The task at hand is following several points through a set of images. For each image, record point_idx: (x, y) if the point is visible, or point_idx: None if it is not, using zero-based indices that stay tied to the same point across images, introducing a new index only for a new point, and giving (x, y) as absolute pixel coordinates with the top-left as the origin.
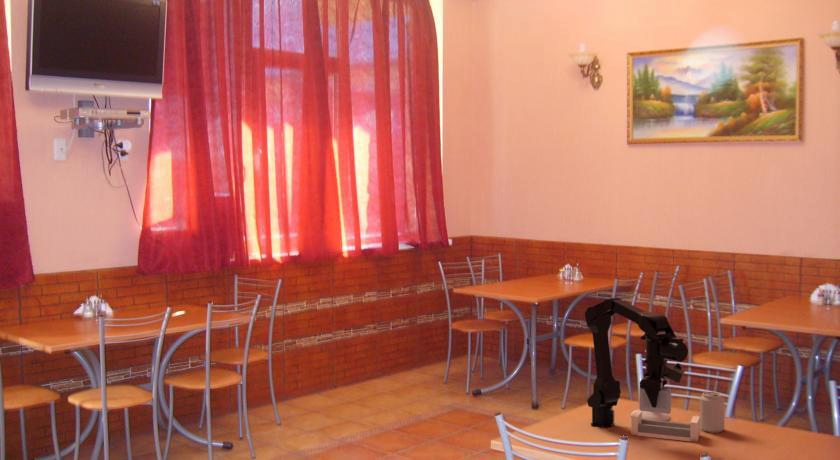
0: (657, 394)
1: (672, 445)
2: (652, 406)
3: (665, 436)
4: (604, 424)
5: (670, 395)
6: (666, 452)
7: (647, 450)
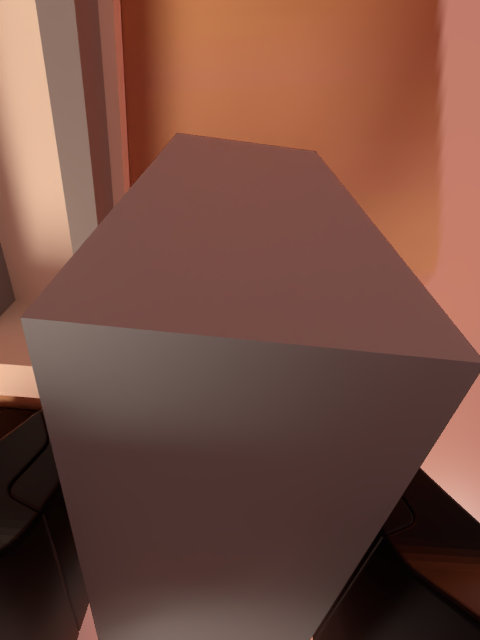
0: (457, 510)
1: (272, 79)
2: None
3: (123, 142)
4: None
5: (229, 233)
6: (440, 119)
7: (402, 238)
